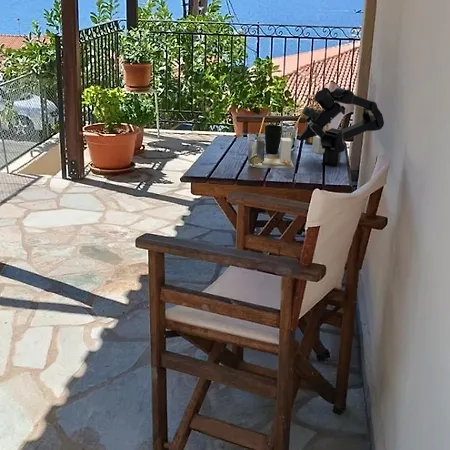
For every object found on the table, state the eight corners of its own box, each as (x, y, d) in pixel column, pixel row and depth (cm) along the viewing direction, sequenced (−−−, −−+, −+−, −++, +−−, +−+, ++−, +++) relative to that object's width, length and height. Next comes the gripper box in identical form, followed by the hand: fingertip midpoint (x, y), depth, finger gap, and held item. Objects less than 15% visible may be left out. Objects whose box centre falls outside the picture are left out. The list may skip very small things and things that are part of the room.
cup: (274, 156, 281) (276, 128, 277) (259, 152, 286) (261, 126, 282) (283, 153, 287) (285, 126, 283) (269, 150, 291) (271, 123, 287)
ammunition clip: (304, 144, 306) (306, 119, 302) (305, 143, 308) (307, 118, 304) (326, 147, 302) (329, 121, 298) (327, 146, 304) (330, 121, 300)
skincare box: (318, 154, 288) (319, 138, 286) (311, 151, 293) (312, 135, 291) (329, 153, 290) (331, 137, 288) (323, 150, 296) (324, 134, 293)
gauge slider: (288, 158, 273) (290, 138, 269) (291, 165, 263) (292, 143, 260) (279, 158, 272) (280, 137, 269) (281, 164, 263) (283, 143, 259)
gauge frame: (290, 161, 274) (292, 138, 270) (293, 168, 262) (295, 144, 259) (253, 159, 274) (254, 136, 270) (254, 167, 262) (256, 143, 258)
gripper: (312, 96, 270) (284, 121, 273) (318, 103, 252) (288, 130, 256) (329, 115, 273) (301, 140, 276) (336, 124, 255) (306, 150, 259)
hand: (298, 139), depth 267 cm, fingers closed
